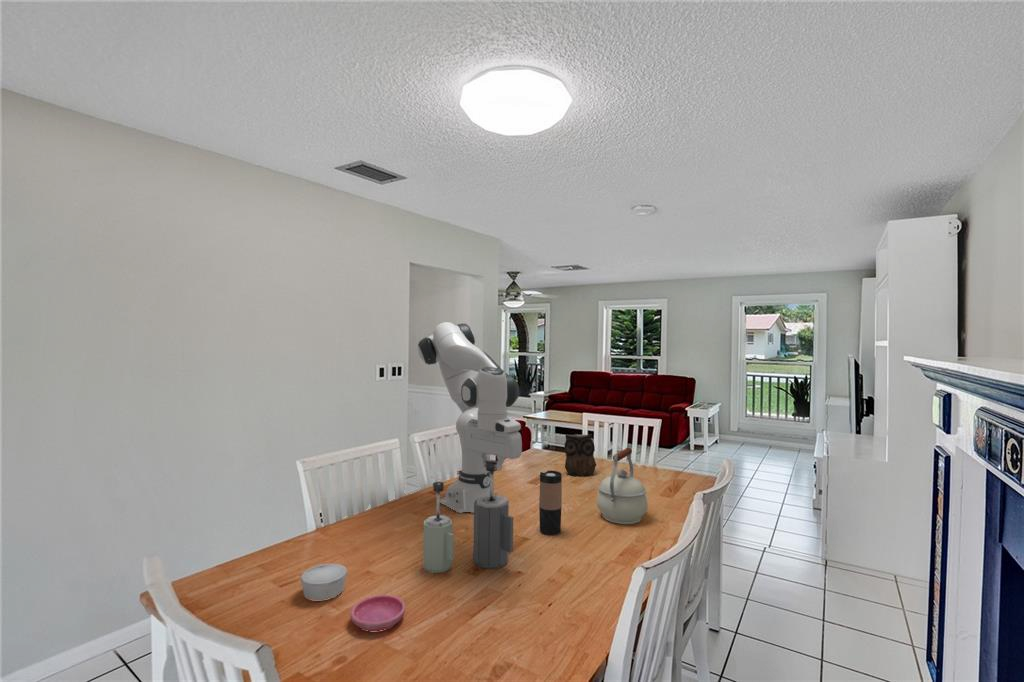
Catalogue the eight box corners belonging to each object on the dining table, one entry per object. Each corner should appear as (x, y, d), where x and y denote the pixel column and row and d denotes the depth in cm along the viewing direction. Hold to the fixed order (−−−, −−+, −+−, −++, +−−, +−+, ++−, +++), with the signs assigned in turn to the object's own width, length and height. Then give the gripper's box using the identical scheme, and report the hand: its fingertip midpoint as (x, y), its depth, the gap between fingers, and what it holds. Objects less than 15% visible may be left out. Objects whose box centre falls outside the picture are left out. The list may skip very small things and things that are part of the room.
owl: (597, 475, 239) (597, 434, 238) (578, 479, 231) (578, 437, 231) (579, 469, 249) (579, 430, 249) (560, 473, 242) (560, 432, 241)
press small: (417, 567, 142) (418, 519, 142) (438, 557, 149) (439, 512, 148) (441, 578, 136) (442, 529, 136) (462, 568, 142) (463, 520, 142)
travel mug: (560, 536, 165) (560, 477, 165) (537, 534, 167) (538, 475, 167) (562, 528, 173) (563, 471, 173) (540, 526, 174) (541, 469, 174)
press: (466, 561, 146) (466, 500, 146) (490, 550, 154) (491, 491, 154) (499, 576, 138) (499, 510, 138) (522, 563, 146) (523, 501, 146)
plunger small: (430, 517, 143) (431, 483, 142) (438, 514, 145) (438, 481, 145) (437, 520, 141) (437, 485, 141) (445, 517, 143) (445, 483, 143)
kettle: (636, 532, 170) (637, 460, 169) (587, 521, 179) (587, 453, 179) (657, 511, 191) (657, 447, 190) (611, 502, 200) (612, 441, 200)
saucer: (409, 606, 122) (409, 593, 122) (399, 637, 110) (399, 623, 110) (358, 606, 122) (359, 594, 122) (343, 637, 109) (343, 623, 109)
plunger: (482, 506, 147) (483, 461, 146) (491, 503, 149) (491, 459, 149) (491, 508, 144) (492, 463, 144) (500, 505, 147) (500, 461, 147)
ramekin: (332, 578, 136) (332, 559, 136) (355, 591, 129) (355, 571, 129) (292, 594, 127) (292, 574, 127) (315, 610, 120) (315, 588, 120)
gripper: (460, 419, 151) (460, 464, 151) (511, 428, 138) (510, 477, 138) (474, 417, 156) (474, 460, 156) (525, 425, 142) (524, 472, 143)
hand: (491, 468), depth 147 cm, fingers closed on plunger, 4 cm apart
